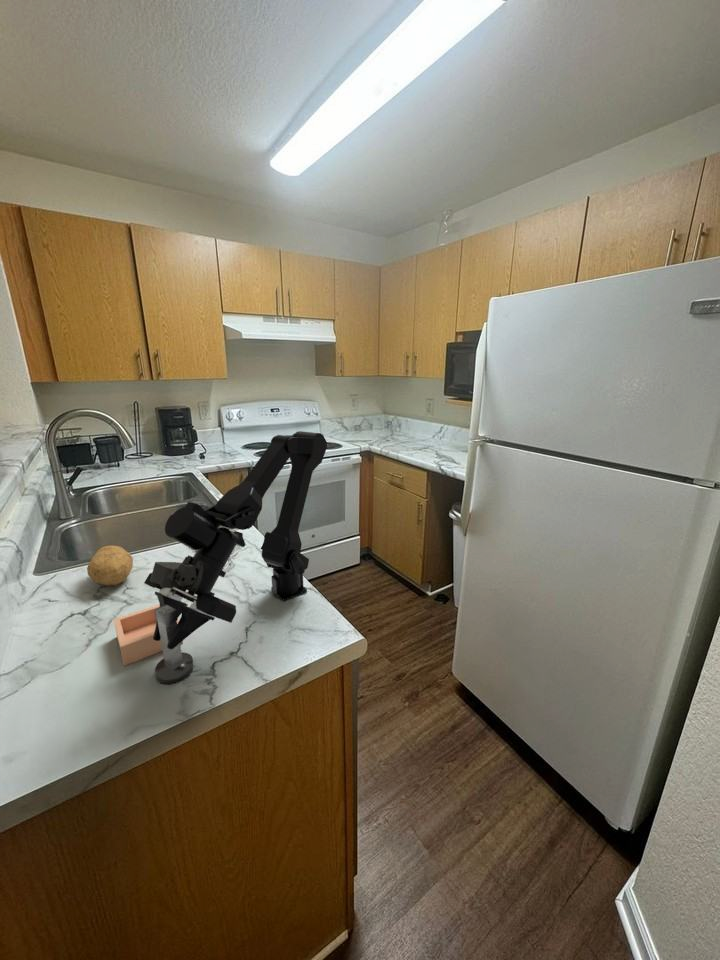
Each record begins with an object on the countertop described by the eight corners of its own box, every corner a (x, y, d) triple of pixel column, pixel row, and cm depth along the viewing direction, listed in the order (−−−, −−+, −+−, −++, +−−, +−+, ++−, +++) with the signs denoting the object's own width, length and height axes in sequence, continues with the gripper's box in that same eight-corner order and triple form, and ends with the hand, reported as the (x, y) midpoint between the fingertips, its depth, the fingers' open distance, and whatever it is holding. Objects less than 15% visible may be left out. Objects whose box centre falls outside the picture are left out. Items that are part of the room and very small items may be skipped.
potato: (89, 600, 89) (82, 569, 87) (91, 574, 100) (85, 546, 98) (137, 588, 94) (132, 558, 92) (134, 564, 105) (129, 538, 103)
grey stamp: (180, 654, 72) (171, 595, 68) (200, 667, 69) (192, 606, 65) (148, 675, 67) (137, 613, 64) (169, 690, 64) (158, 625, 61)
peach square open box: (171, 617, 83) (168, 601, 82) (183, 642, 75) (180, 625, 74) (117, 636, 77) (113, 619, 76) (124, 665, 69) (120, 647, 68)
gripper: (146, 530, 69) (91, 615, 63) (214, 555, 60) (157, 657, 54) (190, 553, 78) (145, 629, 72) (256, 577, 69) (210, 668, 63)
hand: (162, 644), depth 65 cm, fingers open, 4 cm apart
